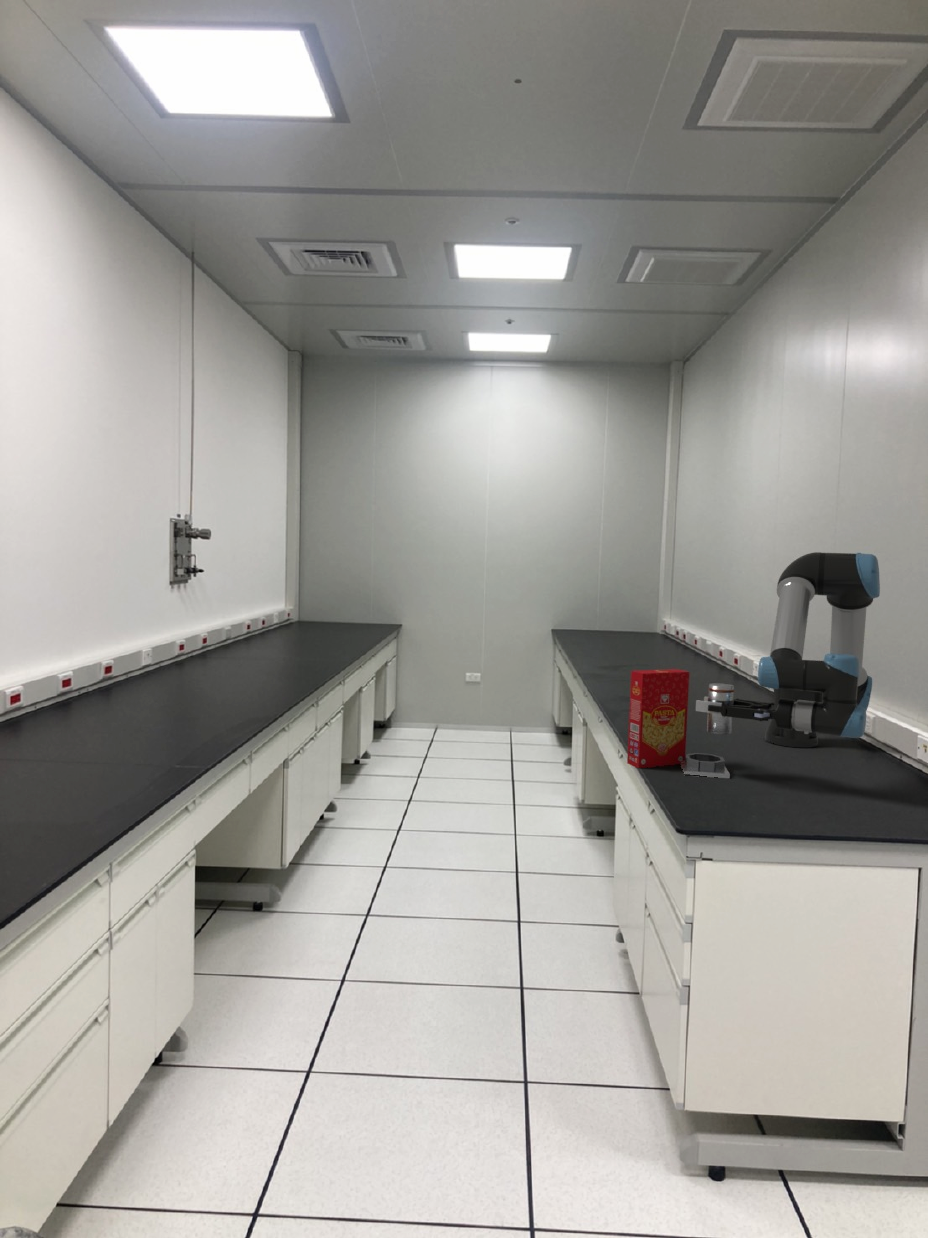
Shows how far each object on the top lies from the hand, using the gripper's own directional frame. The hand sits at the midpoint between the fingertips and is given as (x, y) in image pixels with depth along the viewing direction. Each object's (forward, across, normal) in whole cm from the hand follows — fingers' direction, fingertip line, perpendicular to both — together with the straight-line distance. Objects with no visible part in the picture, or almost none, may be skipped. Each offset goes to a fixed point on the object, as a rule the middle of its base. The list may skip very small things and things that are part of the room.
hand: (700, 703), depth 210 cm
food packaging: (+11, 0, -18) cm, 21 cm away
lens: (-5, 0, -7) cm, 8 cm away
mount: (-2, 0, -18) cm, 18 cm away
